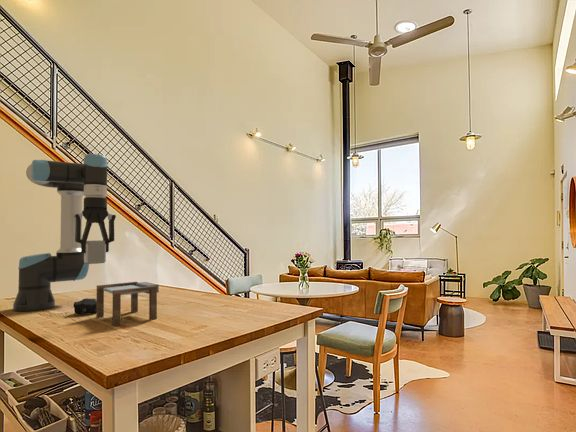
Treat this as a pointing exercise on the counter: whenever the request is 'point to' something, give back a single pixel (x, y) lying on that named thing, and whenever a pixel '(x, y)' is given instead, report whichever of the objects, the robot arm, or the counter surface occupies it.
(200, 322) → the counter surface
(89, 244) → the grey rectangular block
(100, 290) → the trapdoor frame
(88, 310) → the rock
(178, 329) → the counter surface
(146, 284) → the trapdoor
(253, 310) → the counter surface
